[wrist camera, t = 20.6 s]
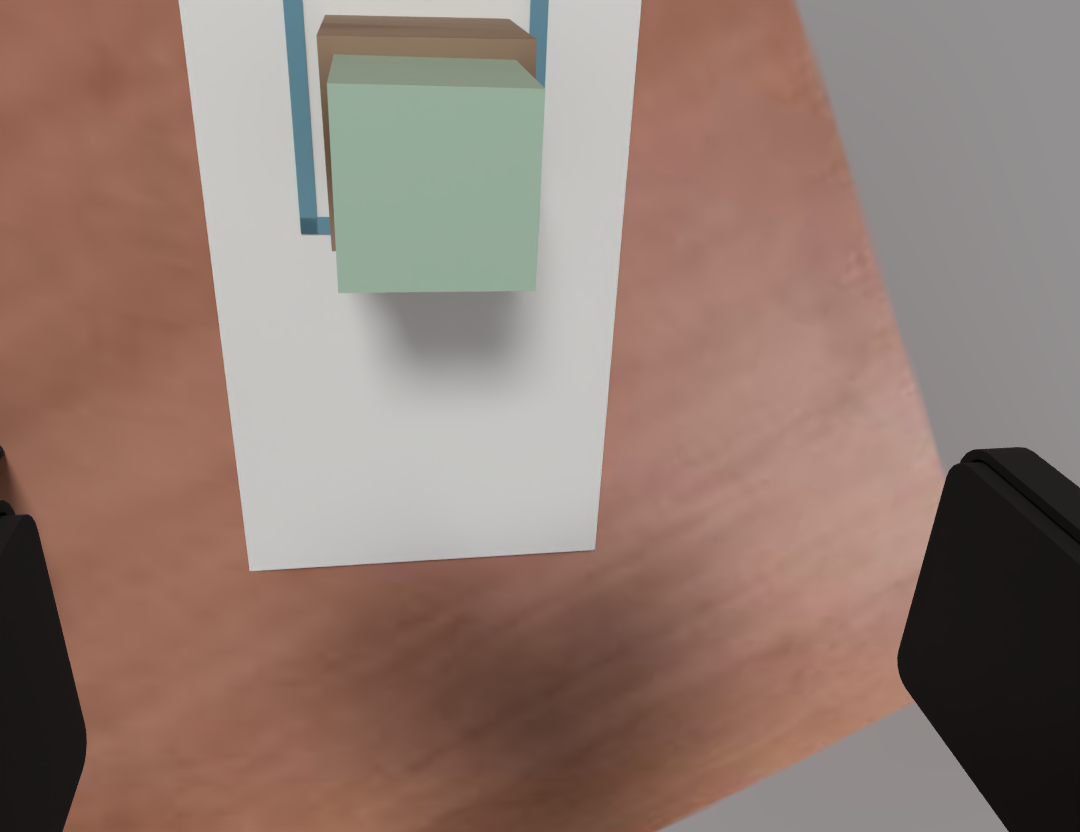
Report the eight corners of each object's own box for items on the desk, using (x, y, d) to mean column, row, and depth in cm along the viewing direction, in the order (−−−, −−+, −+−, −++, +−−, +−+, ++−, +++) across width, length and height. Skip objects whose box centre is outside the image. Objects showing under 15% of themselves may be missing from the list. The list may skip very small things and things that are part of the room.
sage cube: (510, 233, 29) (535, 290, 24) (342, 233, 28) (337, 292, 24) (516, 59, 26) (545, 88, 22) (333, 54, 26) (326, 83, 21)
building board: (590, 536, 43) (595, 551, 42) (252, 556, 41) (249, 572, 40) (637, -43, 32) (645, -42, 31) (176, -63, 30) (170, -62, 29)
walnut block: (505, 196, 34) (530, 247, 29) (337, 198, 33) (331, 251, 28) (508, 18, 31) (536, 39, 26) (324, 14, 30) (316, 35, 25)
